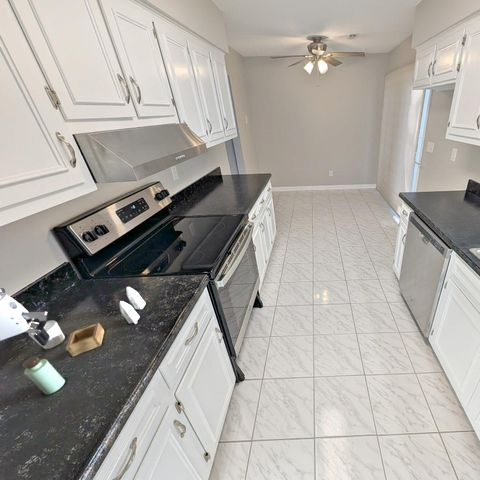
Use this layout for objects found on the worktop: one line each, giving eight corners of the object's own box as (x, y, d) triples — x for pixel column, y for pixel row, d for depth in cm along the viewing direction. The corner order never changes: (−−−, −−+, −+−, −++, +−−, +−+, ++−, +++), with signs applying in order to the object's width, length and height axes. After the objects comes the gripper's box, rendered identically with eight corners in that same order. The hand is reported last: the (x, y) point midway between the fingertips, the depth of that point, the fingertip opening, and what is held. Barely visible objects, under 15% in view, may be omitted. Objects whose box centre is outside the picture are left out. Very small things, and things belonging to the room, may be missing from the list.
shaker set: (138, 303, 102) (126, 282, 97) (149, 301, 103) (137, 280, 98) (124, 326, 92) (110, 303, 87) (137, 323, 93) (123, 300, 87)
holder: (72, 356, 82) (65, 348, 80) (77, 340, 88) (71, 332, 86) (101, 345, 85) (95, 337, 83) (104, 330, 91) (98, 322, 89)
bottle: (41, 397, 70) (14, 371, 65) (46, 384, 74) (21, 358, 68) (62, 388, 72) (38, 362, 67) (66, 375, 76) (44, 350, 70)
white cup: (36, 347, 86) (23, 333, 83) (60, 332, 92) (49, 318, 88) (47, 353, 84) (34, 338, 80) (71, 336, 89) (60, 322, 86)
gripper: (29, 278, 64) (67, 326, 72) (-73, 307, 57) (-18, 357, 65) (18, 294, 58) (60, 344, 66) (-98, 329, 51) (-34, 380, 59)
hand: (22, 350), depth 66 cm, fingers open, 9 cm apart
